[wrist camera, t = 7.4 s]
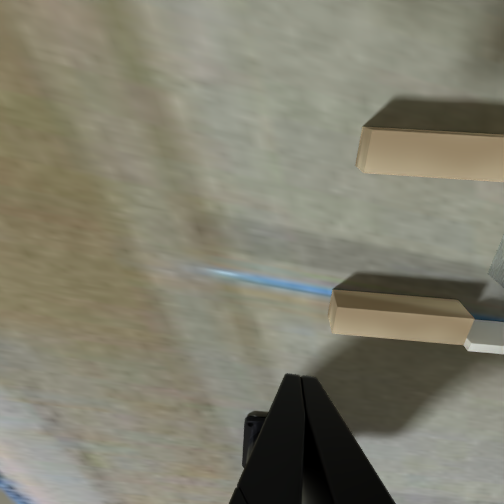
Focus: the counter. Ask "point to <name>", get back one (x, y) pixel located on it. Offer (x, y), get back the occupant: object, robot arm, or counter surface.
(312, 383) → the robot arm
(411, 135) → the slot rails
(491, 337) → the chip tray
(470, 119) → the counter surface
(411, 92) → the counter surface
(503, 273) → the block
